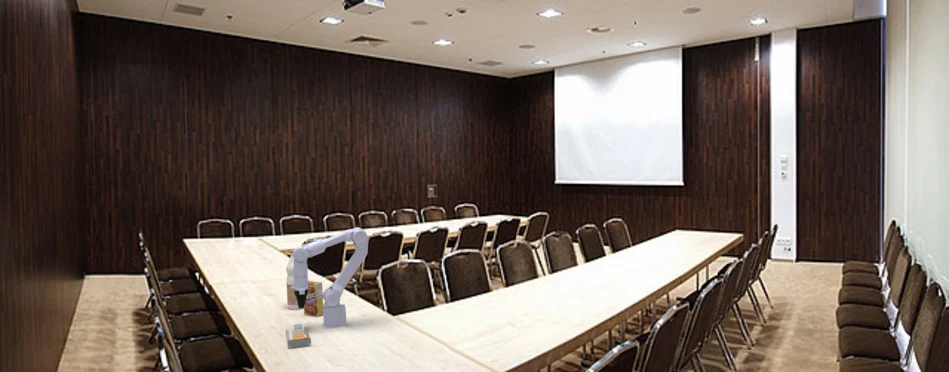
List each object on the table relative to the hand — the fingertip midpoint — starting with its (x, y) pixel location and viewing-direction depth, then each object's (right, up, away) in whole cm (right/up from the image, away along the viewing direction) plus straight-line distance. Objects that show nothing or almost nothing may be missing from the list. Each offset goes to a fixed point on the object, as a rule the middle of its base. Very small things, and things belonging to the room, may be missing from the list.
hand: (301, 307), depth 248 cm
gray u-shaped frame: (+3, -10, -13) cm, 17 cm away
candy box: (-1, -8, +23) cm, 25 cm away
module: (+4, -10, -18) cm, 21 cm away
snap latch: (+6, -10, -22) cm, 25 cm away
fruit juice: (-13, -8, +37) cm, 40 cm away
